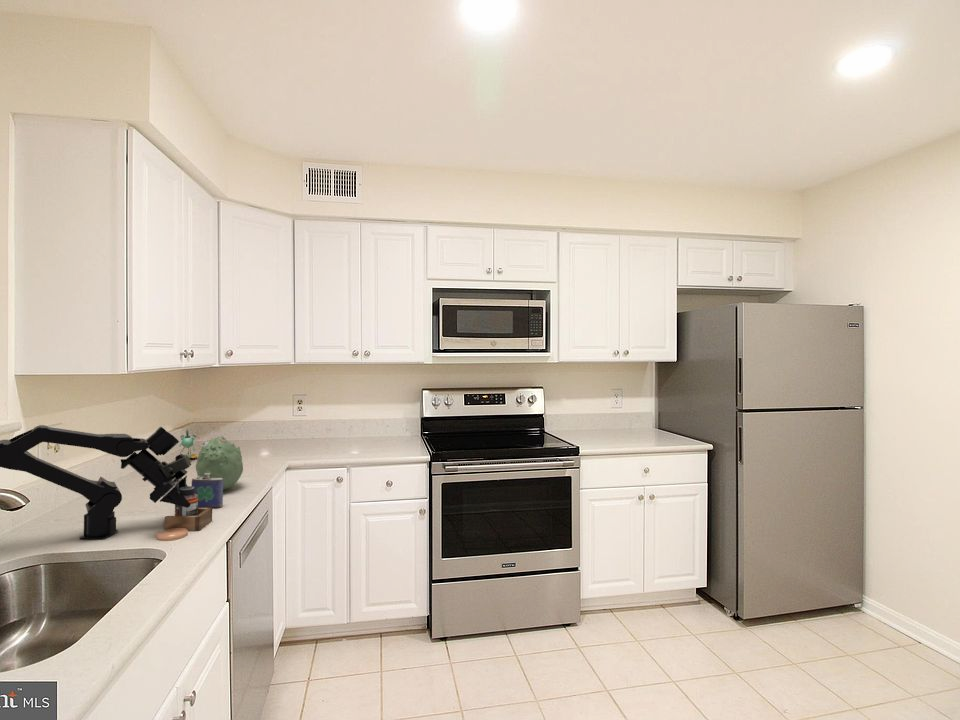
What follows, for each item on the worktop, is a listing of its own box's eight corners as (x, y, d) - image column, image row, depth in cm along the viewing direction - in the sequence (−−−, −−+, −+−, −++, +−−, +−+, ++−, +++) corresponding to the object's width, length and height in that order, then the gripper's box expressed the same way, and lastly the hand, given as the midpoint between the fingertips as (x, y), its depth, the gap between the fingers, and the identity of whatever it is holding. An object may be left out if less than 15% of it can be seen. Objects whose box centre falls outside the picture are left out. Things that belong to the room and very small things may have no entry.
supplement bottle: (171, 525, 155) (172, 487, 155) (193, 521, 160) (194, 484, 159) (177, 530, 151) (178, 491, 151) (200, 526, 155) (201, 488, 155)
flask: (224, 506, 175) (224, 471, 175) (220, 509, 172) (220, 474, 172) (193, 506, 174) (193, 471, 174) (188, 509, 171) (189, 473, 171)
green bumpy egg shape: (247, 483, 205) (248, 432, 204) (236, 496, 186) (237, 440, 186) (203, 484, 201) (204, 432, 201) (188, 498, 183) (189, 441, 182)
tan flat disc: (150, 540, 143) (150, 537, 143) (164, 531, 150) (164, 527, 150) (179, 540, 144) (179, 537, 143) (192, 531, 151) (192, 527, 151)
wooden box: (164, 530, 151) (164, 517, 150) (179, 520, 159) (179, 507, 159) (199, 530, 151) (199, 517, 151) (212, 520, 160) (212, 507, 160)
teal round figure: (169, 464, 233) (170, 430, 234) (179, 460, 250) (180, 428, 251) (193, 462, 236) (194, 429, 237) (202, 459, 253) (202, 428, 254)
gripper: (163, 453, 145) (207, 491, 148) (180, 442, 163) (218, 475, 166) (130, 483, 143) (175, 521, 146) (151, 468, 160) (190, 502, 164)
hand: (191, 503), depth 156 cm, fingers closed on supplement bottle, 6 cm apart
